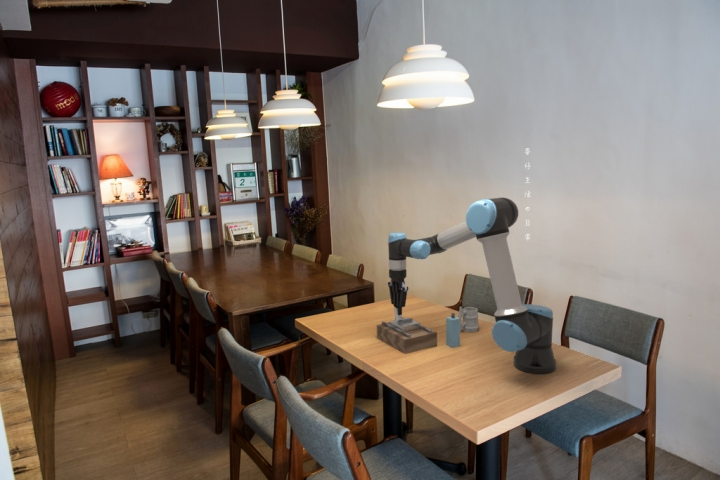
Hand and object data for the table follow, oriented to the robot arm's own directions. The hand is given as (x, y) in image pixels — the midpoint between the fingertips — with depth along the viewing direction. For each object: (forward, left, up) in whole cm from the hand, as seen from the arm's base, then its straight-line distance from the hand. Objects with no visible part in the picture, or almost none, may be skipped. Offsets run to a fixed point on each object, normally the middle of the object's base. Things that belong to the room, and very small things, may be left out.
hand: (398, 321), depth 229 cm
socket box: (-6, 0, -7) cm, 10 cm away
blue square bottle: (-20, -14, -8) cm, 26 cm away
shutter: (-5, 0, -1) cm, 5 cm away
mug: (-9, -31, -8) cm, 33 cm away
